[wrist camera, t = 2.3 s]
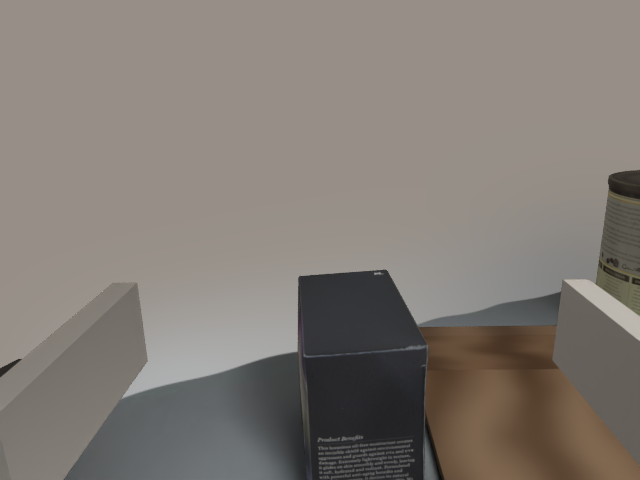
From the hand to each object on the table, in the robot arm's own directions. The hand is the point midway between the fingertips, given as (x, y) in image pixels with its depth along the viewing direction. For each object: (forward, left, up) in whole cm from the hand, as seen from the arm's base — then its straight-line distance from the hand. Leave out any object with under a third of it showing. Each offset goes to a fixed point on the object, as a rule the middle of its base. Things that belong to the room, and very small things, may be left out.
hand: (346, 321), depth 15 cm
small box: (-1, -12, -15) cm, 19 cm away
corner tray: (-13, -14, -15) cm, 24 cm away
